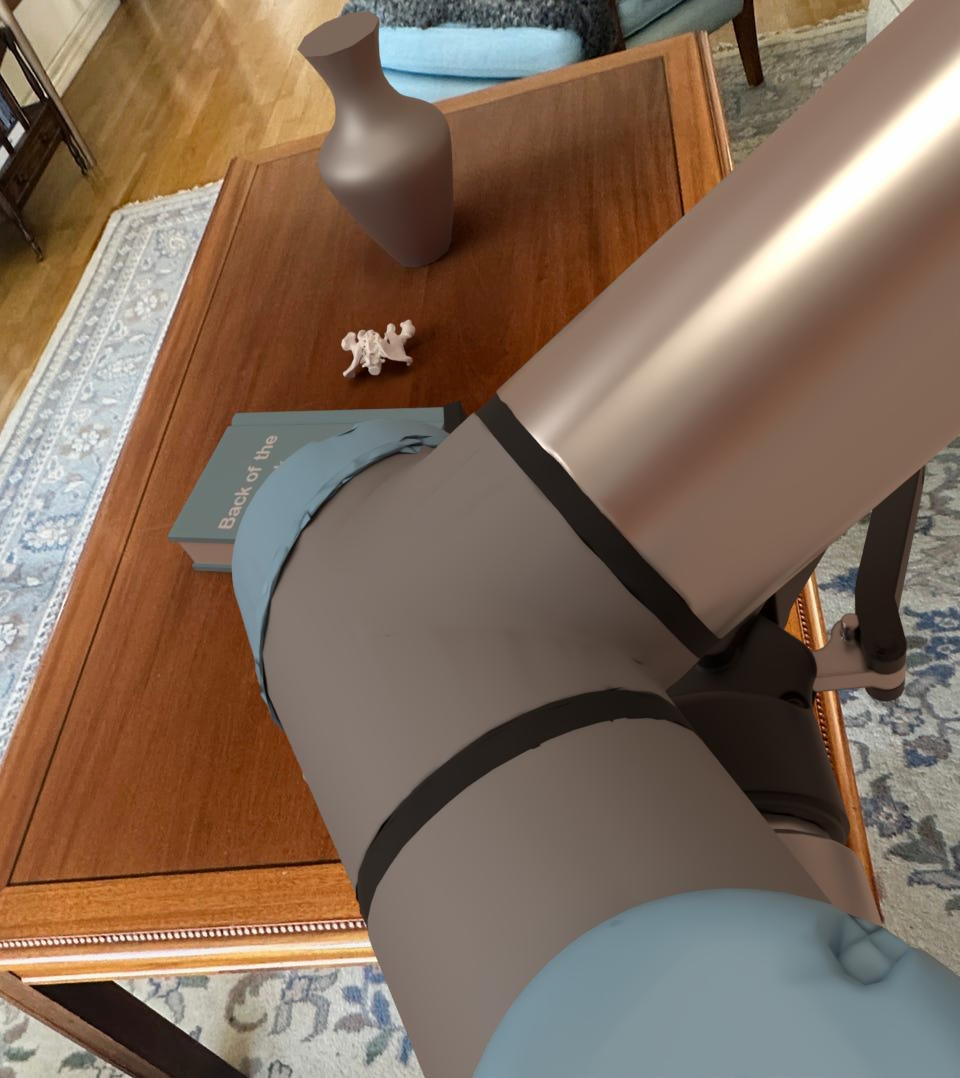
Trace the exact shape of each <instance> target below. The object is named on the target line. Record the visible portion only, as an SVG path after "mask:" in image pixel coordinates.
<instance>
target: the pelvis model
mask: <svg viewBox="0 0 960 1078" xmlns="http://www.w3.org/2000/svg"><path fill="white" fill-rule="evenodd" d="M399 327H400V328H401V333H400V334H397V333H396V326H395V324H394V323H393V322H391V323H390V322H389V324H387V327H386V332H384V338H382V337H381V335H380V333H379V332H377V331H375V329H369V330H365V329H361V330H359V331H358V333H356V332H354V331H349V332H347V334H346V335H345V337H343V339H342V340H341V343H340V344H341V345H340V346H341V348H342V350H344V351H345V352H348V351H349V352H350V351H351V353H352V355H353V360H352V362H351V364H350V366H349V367H348V368H347V369H346V370H345V371H343V372H342V375H343V377H345V378H347V379H355V378H356V369H357V367H358V366H359V365H361V367H362V368H365V367H366V368H368V372H369V374H370V375H372V376H378V375H379V374H380V373H381V372H382V364H383V363H386V360H385V358H387V359H389V360H392V361H397V362H403V363H404V362H405V363H406V366H407V367H410V366H411V365H412V364H413V358H412V357H411V356H408V355H407V354H406V351H405V347H404V346H405V344H406V342H407V340H408V339H412V338H413V337H414V335H415V334H416V327H415V326H414V325H413V321H412V320H411V319H407V320H405V321H402V322H400V324H399ZM356 339H358V342H357V341H356ZM382 358H383V359H382Z"/></svg>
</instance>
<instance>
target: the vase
mask: <svg viewBox="0 0 960 1078" xmlns="http://www.w3.org/2000/svg"><path fill="white" fill-rule="evenodd" d="M296 50H297V51H298V52H299V53H300V54H301V55H302V57H304V58H305V60H306V61H307V62H308V63H309V64H310V66H311V67H313V68H312V69H314V70H315V71H316V73H317V74H318V75H319V76H320V78H322V80H323V81H324V83H325V85H326V86H327V87H328V89H329V90H330V92H331V95H332V97H333V101H334V102H333V103H334V110H335V111H334V113H335V114H334V115H335V116H334V121H333V122H334V123H333V124H332V126H331V128H330V130H329V132H328V133H327V135H326V136H325V138H324V140H323V141H322V144H321V145H320V146H321V147H320V149H319V151H318V157H317V167H318V172H319V176H320V178H321V180H322V182H323V183H324V184H325V186H326V188H327V189H328V191H329V192H330V193H331V194H332V196H333V197H334V198H335V200H336V201H338V203H339V204H340V205H341V206H342V207H343V209H345V211H346V212H347V213H348V214H349V215H350V216H351V217H352V219H353V220H354V221H355V222H356V223H357V224H358V225H359V227H360V228H362V230H363V231H364V232H365V233H366V234H367V235H368V236H369V237H370V239H372V240H373V241H374V242H375V243H376V244H377V245H378V246H379V247H381V249H382V250H384V251H385V253H387V254H388V255H389V256H391V258H393V259H394V260H395V261H396V262H397V263H399V265H401V267H403V268H416V269H418V268H421V267H425V266H427V265H430V264H432V263H435V262H437V261H438V260H439V259H440V258H442V257H443V256H444V255H445V254H446V253H447V252H449V250H450V247H451V243H452V230H453V219H454V169H453V167H454V166H453V165H454V164H453V146H452V135H451V128H450V125H449V122H448V120H447V117H446V115H445V114H444V112H443V111H441V109H439V107H437V106H436V105H434V104H433V103H431V102H429V101H427V100H424V99H420V98H417V97H415V96H408V95H404V94H402V93H400V92H399V91H398V90H397V89H395V88H394V86H393V85H392V84H391V83H390V82H389V80H388V79H387V77H386V76H385V73H384V70H383V67H382V62H381V61H382V60H381V54H380V51H381V50H380V16H378V15H376V14H375V13H373V12H372V11H370V10H368V11H357V12H348V13H346V14H343V15H340V16H338V17H336V18H332V19H330V20H327V21H325V22H323V23H322V24H320V25H318V26H317V27H315V28H314V29H313V30H312V31H310V32H308V33H307V34H306V35H304V36H303V38H302V40H301V42H300V44H299V45H298V47H297V48H296Z"/></svg>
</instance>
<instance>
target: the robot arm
mask: <svg viewBox="0 0 960 1078" xmlns="http://www.w3.org/2000/svg"><path fill="white" fill-rule="evenodd" d="M442 407H443V412H444V430H442V429H440V428H437V427H435V426H432V425H430V424H426V423H422V422H419V421H415V420H407V419H377V420H370V421H365V422H361V423H357V424H355V426H354V427H353V428H352V430H349V431H346V432H343V433H340V434H337V435H335V436H333V437H330V438H328V439H325V440H323V441H321V442H320V441H311V442H310V443H308V444H307V445H305V446H304V447H302V448H301V449H299V450H298V451H296V452H295V453H293V454H292V455H291V456H290V457H288V458H287V459H286V460H285V461H283V462H282V463H281V464H280V465H279V466H278V467H277V468H276V469H275V470H274V471H273V472H272V473H271V474H270V475H269V476H268V477H267V479H266V480H265V481H264V483H263V484H262V485H261V487H260V488H259V489H258V490H257V492H256V493H255V495H254V497H253V499H252V500H251V502H250V504H249V505H248V507H247V509H246V511H245V513H244V516H243V518H242V520H241V523H240V525H239V529H238V532H237V536H236V540H235V543H234V548H233V557H232V572H231V575H232V576H231V578H232V586H233V587H232V588H233V591H234V592H233V593H234V595H235V600H236V602H237V605H238V608H239V612H240V615H241V619H242V621H243V625H244V628H245V631H246V636H247V638H248V642H249V645H250V649H251V651H252V655H253V659H254V668H255V674H256V677H257V680H258V684H259V694H260V696H261V698H262V700H263V701H264V702H265V704H266V705H267V707H268V711H269V714H270V717H271V720H272V722H273V723H274V724H275V725H277V726H278V728H280V730H281V731H283V733H284V734H285V735H286V737H287V741H288V743H289V745H290V747H291V748H292V751H293V754H294V756H295V758H296V761H297V763H298V765H299V767H300V770H301V772H302V775H303V774H304V777H305V779H306V781H307V783H306V784H307V786H308V789H309V791H310V792H311V795H312V797H313V801H314V802H315V804H316V807H317V809H318V812H319V813H320V816H321V818H322V821H323V822H324V825H325V827H326V829H327V832H328V835H329V836H330V839H331V841H332V843H333V845H334V848H335V850H336V853H337V855H338V857H339V859H340V862H341V864H342V867H343V868H344V871H345V873H346V876H347V877H348V880H349V883H350V884H351V887H352V889H353V892H354V893H355V900H356V901H357V903H358V907H359V915H361V917H362V920H363V922H364V925H365V927H366V929H367V937H368V940H369V941H370V942H369V943H370V945H371V946H370V947H371V949H372V951H373V954H374V956H375V958H376V961H377V963H378V966H379V968H380V971H381V973H382V976H383V978H384V981H385V984H386V986H387V988H388V991H389V993H390V995H391V999H392V1001H393V1003H394V1005H395V1008H396V1011H397V1013H398V1015H399V1018H400V1020H401V1023H402V1025H403V1028H404V1030H405V1032H406V1035H407V1037H408V1040H409V1043H410V1046H411V1047H412V1050H413V1052H414V1055H415V1058H416V1061H417V1063H418V1065H419V1067H420V1070H421V1072H422V1076H423V1077H424V1078H960V975H959V974H957V973H956V972H954V970H952V969H951V968H949V967H948V966H947V965H945V964H944V963H943V962H941V961H940V960H939V959H937V958H936V957H934V956H933V955H932V954H930V953H929V952H928V951H927V950H925V949H921V948H919V947H914V946H911V945H909V944H908V943H907V942H905V940H903V939H901V938H899V937H898V936H897V935H896V934H894V933H892V932H891V931H890V930H888V929H887V928H885V927H884V926H883V922H882V919H881V916H880V913H879V910H878V907H877V904H876V901H875V898H874V895H873V891H872V889H871V885H870V883H869V879H868V877H867V874H866V871H865V867H864V864H863V862H862V861H863V860H862V858H861V857H860V856H859V855H858V854H857V853H855V851H853V850H852V849H851V848H850V847H848V846H846V845H845V844H846V843H847V841H848V839H849V837H850V834H851V824H850V819H849V816H848V813H847V810H846V807H845V804H844V800H843V797H842V795H841V793H840V792H841V791H840V788H839V786H838V782H837V779H836V776H835V773H834V769H833V767H832V764H831V761H830V758H829V757H830V756H829V754H828V751H827V748H826V746H825V742H824V739H823V736H822V732H821V730H820V725H819V723H818V720H817V718H816V717H817V716H816V714H815V709H814V705H815V701H816V697H817V695H818V693H825V692H834V691H835V692H836V691H844V690H855V689H856V690H857V689H864V690H865V693H867V695H869V697H871V698H872V699H873V700H876V701H878V702H886V703H888V702H889V703H890V702H892V701H896V700H898V699H899V698H900V697H901V696H902V695H903V693H904V691H905V685H906V673H907V671H906V670H907V649H908V647H907V644H908V642H907V638H906V635H905V630H904V627H903V623H902V619H901V615H900V612H899V611H900V606H901V601H902V595H903V591H904V587H905V586H904V585H905V580H906V575H907V571H908V566H909V561H910V556H911V550H912V546H913V541H914V535H915V531H916V526H917V520H918V515H919V510H920V506H921V500H922V495H923V491H924V485H925V475H926V465H927V463H929V462H930V461H931V460H932V459H934V457H936V456H937V455H938V454H939V453H940V452H942V451H943V450H944V449H945V448H946V447H947V446H949V445H950V444H951V443H952V442H953V441H954V440H955V439H957V438H958V437H959V436H960V0H913V1H912V2H911V3H910V4H908V6H906V7H905V8H904V9H903V10H902V11H901V12H900V13H899V14H898V15H897V16H896V17H895V18H893V20H891V22H890V23H888V24H887V25H886V26H885V27H884V28H883V29H882V30H880V32H879V33H878V34H877V35H876V36H874V37H873V38H872V39H871V40H870V41H869V42H868V43H867V44H865V46H864V47H863V48H862V49H861V50H860V51H859V52H857V53H856V54H855V55H854V56H853V57H852V58H851V59H850V60H849V61H847V63H846V64H845V65H843V66H842V67H841V68H840V69H839V70H838V71H837V72H836V73H835V74H834V75H833V76H832V77H831V78H830V79H828V80H827V81H826V82H825V83H824V84H823V85H822V86H821V87H820V88H819V89H817V91H816V92H814V93H813V94H812V95H811V96H810V97H809V98H808V99H807V100H806V101H805V102H804V103H803V104H801V106H799V107H798V109H796V110H795V111H794V112H793V113H792V114H791V115H790V116H789V117H788V118H787V119H785V120H784V122H782V123H781V124H780V125H779V126H778V127H777V128H776V129H775V130H774V131H773V132H772V133H771V134H770V135H768V136H767V137H766V138H765V139H764V140H763V141H762V142H761V143H760V144H759V145H757V147H756V148H755V149H754V150H753V151H751V152H750V153H749V154H748V155H747V156H746V157H744V159H743V160H742V161H741V162H740V163H738V164H737V165H736V166H735V168H733V169H732V170H730V171H729V173H728V174H727V175H725V177H723V178H722V179H721V180H720V181H719V183H717V184H716V185H714V187H713V188H712V189H711V190H709V192H708V193H706V194H705V196H703V197H702V198H701V199H700V200H698V202H697V203H695V205H694V206H692V207H691V208H690V209H689V210H688V211H687V212H686V213H685V214H684V215H683V216H682V217H680V219H678V221H677V222H675V223H674V224H673V225H672V226H671V227H670V228H669V229H668V230H667V231H666V232H665V233H664V234H663V235H662V236H660V237H659V239H657V240H656V241H655V242H654V243H653V244H652V245H651V246H650V247H649V248H648V249H646V251H644V252H643V253H642V254H641V255H640V256H639V257H638V258H637V259H636V260H635V261H634V262H633V263H631V265H629V266H628V268H626V269H625V270H624V271H623V272H622V273H621V274H620V275H618V276H617V277H616V279H614V281H612V282H611V283H610V284H609V285H608V286H607V287H606V288H604V290H603V291H602V292H600V293H599V294H598V295H597V296H596V297H595V298H594V299H593V300H592V301H591V302H590V303H589V304H588V305H587V306H585V307H584V308H583V309H582V310H581V311H580V312H579V313H578V314H577V315H575V317H574V318H572V319H571V321H569V322H568V324H566V325H565V326H564V327H563V328H562V329H561V330H560V331H559V332H558V333H557V334H555V336H553V337H552V338H551V339H550V340H549V341H548V342H547V343H546V344H544V346H543V347H542V348H540V349H539V350H538V352H536V353H535V354H534V355H533V356H532V357H531V358H530V359H529V360H528V361H527V362H525V364H523V365H522V366H521V367H520V368H519V369H518V370H517V371H516V372H515V373H514V374H512V376H511V377H509V378H508V379H507V380H506V381H505V382H504V383H503V384H502V385H501V386H500V387H499V388H497V390H496V391H495V394H494V395H493V396H492V397H491V398H490V399H489V400H488V401H487V402H486V403H485V404H484V405H482V407H480V408H479V409H478V410H477V411H476V412H472V413H471V414H470V415H469V416H467V415H466V412H465V409H464V407H463V405H462V402H461V400H457V401H452V402H449V403H446V404H443V405H442ZM870 512H871V513H870ZM868 514H870V516H869V517H870V518H869V522H868V527H867V531H866V535H865V540H864V543H863V548H862V552H861V557H860V561H859V565H858V571H857V574H856V578H855V579H856V580H855V587H854V613H853V612H848V613H844V614H843V615H842V616H841V618H840V619H839V620H838V621H836V622H835V623H834V624H833V625H832V628H831V629H830V636H829V637H830V638H829V640H828V642H827V643H826V644H825V645H824V646H822V647H820V648H818V649H813V650H811V649H810V647H809V646H808V645H807V644H806V643H805V642H804V641H802V640H801V639H799V638H798V637H796V636H795V635H793V634H792V633H790V631H789V632H788V631H787V630H786V627H787V625H788V622H789V620H790V615H791V612H792V609H793V607H794V605H795V604H796V601H797V600H798V598H799V597H800V595H801V593H802V592H803V590H804V588H805V587H806V585H807V584H808V582H809V580H810V578H811V577H812V575H813V574H814V572H815V570H816V568H817V567H818V565H819V564H820V562H821V560H822V559H823V557H824V555H825V553H826V552H827V550H828V548H829V547H831V546H832V544H834V543H835V542H836V541H837V540H838V539H840V538H841V537H842V536H843V535H844V534H846V533H847V532H848V531H849V530H850V529H852V528H853V527H854V526H855V525H856V524H858V523H859V521H861V520H862V519H864V517H866V516H867V515H868ZM306 781H305V782H306Z"/></svg>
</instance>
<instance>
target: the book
mask: <svg viewBox="0 0 960 1078" xmlns="http://www.w3.org/2000/svg"><path fill="white" fill-rule="evenodd" d="M377 419H407V420H415V421H419V422H422V423H426V424H430V425H432V426H435V427H437V428H440V429H442V430H444V412H443V406H439V407H437V406H436V407H434V406H433V407H402V408H398V407H397V408H365V409H330V410H329V409H324V410H292V411H291V410H289V411H256V412H235V413H234V415H233V416H232V418H231V425H230V426H229V425H228V426H227V428H226V429H225V431H224V433H223V435H222V436H221V438H220V440H219V441H218V444H217V446H216V447H215V449H214V451H213V452H212V455H211V456H210V458H209V460H208V462H207V463H206V465H205V467H204V468H203V470H202V472H201V474H200V476H199V478H198V479H197V482H196V483H195V485H194V487H193V489H192V490H191V492H190V494H189V496H188V497H187V500H186V501H185V503H184V505H183V507H182V509H181V511H180V512H179V514H178V516H177V518H176V520H175V522H174V523H173V525H172V527H171V529H170V530H169V532H168V534H167V536H166V537H167V539H168V540H169V541H170V542H172V543H178V544H179V545H180V546H181V548H182V549H183V550H184V551H185V552H186V554H187V555H188V557H190V559H192V561H193V562H192V565H191V567H192V569H193V570H194V571H196V572H215V573H232V557H233V548H234V543H235V540H236V536H237V532H238V529H239V525H240V523H241V520H242V518H243V516H244V513H245V511H246V509H247V507H248V505H249V504H250V502H251V500H252V499H253V497H254V495H255V493H256V492H257V490H258V489H259V488H260V487H261V485H262V484H263V483H264V481H265V480H266V479H267V477H268V476H269V475H270V474H271V473H272V472H273V471H274V470H275V469H276V468H277V467H278V466H279V465H280V464H281V463H282V462H283V461H285V460H286V459H287V458H288V457H290V456H291V455H292V454H293V453H295V452H296V451H298V450H299V449H301V448H302V447H304V446H305V445H307V444H308V443H310V442H311V441H320V442H321V441H323V440H325V439H328V438H330V437H333V436H335V435H337V434H340V433H343V432H346V431H349V430H352V428H353V427H354V426H355V424H357V423H361V422H365V421H370V420H377Z"/></svg>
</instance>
